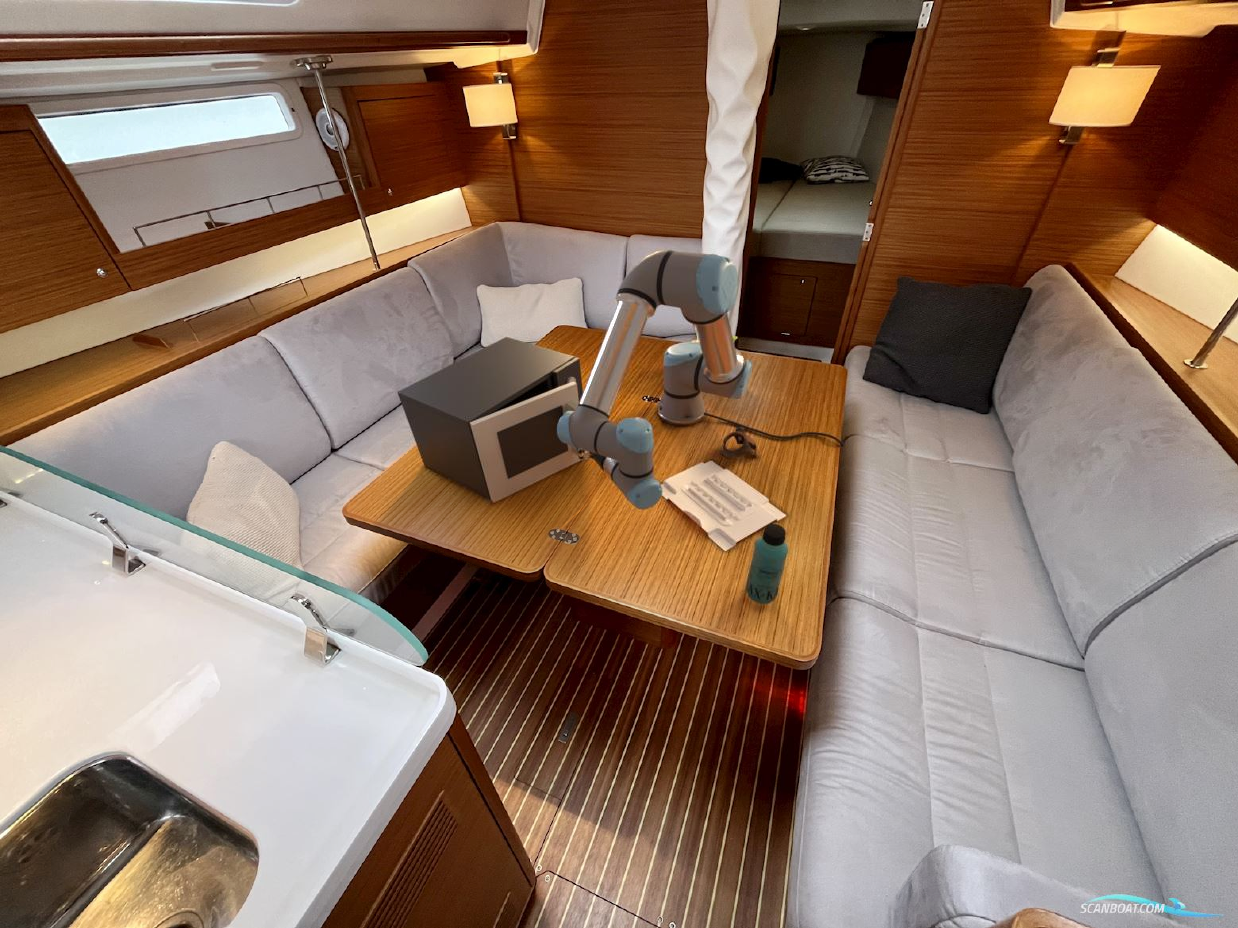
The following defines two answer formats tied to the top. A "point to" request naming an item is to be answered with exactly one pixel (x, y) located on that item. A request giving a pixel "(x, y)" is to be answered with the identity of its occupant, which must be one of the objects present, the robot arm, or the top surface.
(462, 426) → the microwave
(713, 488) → the tray
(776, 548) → the beverage bottle
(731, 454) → the brown looped piece
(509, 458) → the microwave door
